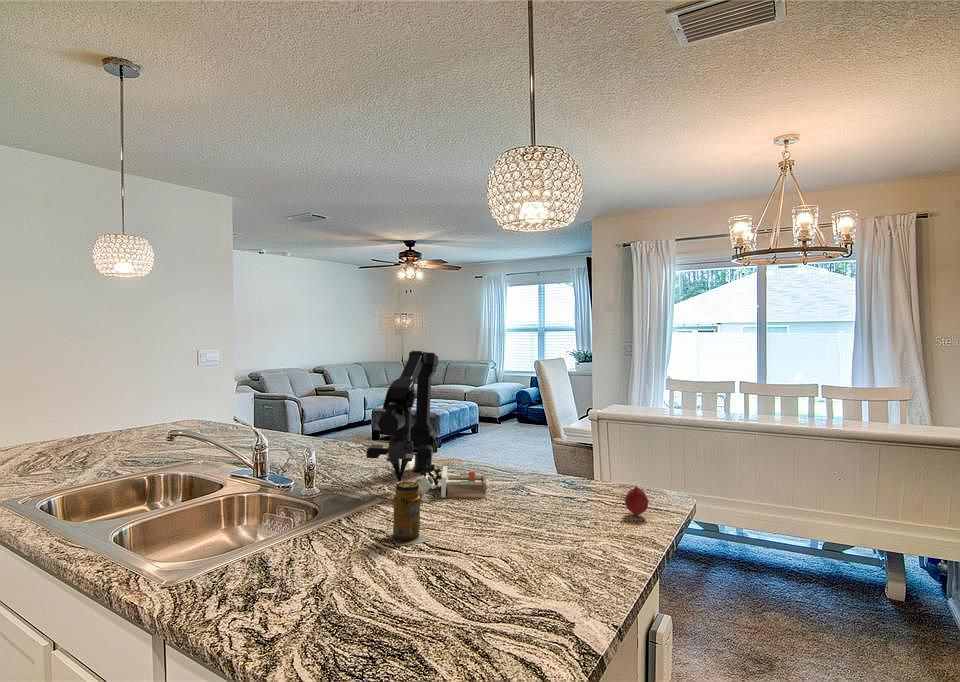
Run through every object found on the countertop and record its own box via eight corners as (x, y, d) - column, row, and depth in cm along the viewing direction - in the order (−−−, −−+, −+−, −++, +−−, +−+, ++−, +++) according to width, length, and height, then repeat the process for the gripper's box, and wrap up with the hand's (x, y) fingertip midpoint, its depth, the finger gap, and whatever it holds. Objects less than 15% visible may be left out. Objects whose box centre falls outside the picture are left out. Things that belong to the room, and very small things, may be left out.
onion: (651, 515, 134) (652, 485, 134) (641, 521, 130) (642, 490, 130) (630, 510, 138) (631, 480, 138) (620, 515, 134) (621, 485, 134)
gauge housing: (448, 486, 156) (448, 473, 156) (484, 486, 156) (484, 473, 156) (447, 497, 146) (447, 483, 146) (485, 497, 146) (486, 483, 146)
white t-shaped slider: (443, 484, 157) (443, 465, 156) (481, 484, 157) (481, 465, 157) (441, 497, 145) (441, 476, 144) (482, 497, 145) (482, 477, 145)
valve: (416, 504, 143) (429, 489, 155) (435, 492, 142) (446, 478, 153) (403, 485, 143) (417, 471, 155) (421, 472, 142) (434, 460, 154)
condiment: (416, 528, 123) (416, 478, 123) (428, 541, 115) (429, 488, 115) (386, 533, 120) (387, 482, 119) (396, 547, 112) (397, 492, 112)
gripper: (362, 433, 141) (362, 489, 142) (430, 433, 142) (429, 489, 142) (370, 425, 153) (369, 477, 153) (433, 426, 153) (432, 478, 154)
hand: (399, 480), depth 150 cm, fingers closed
